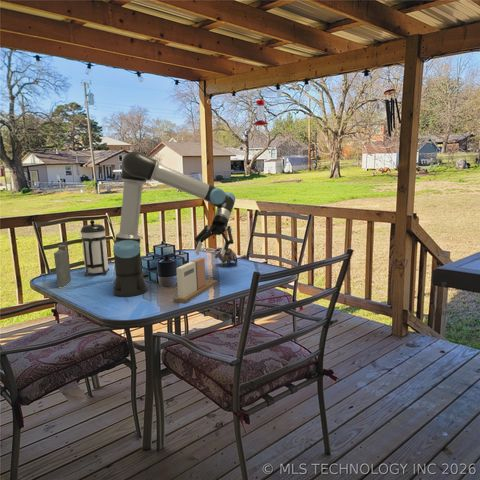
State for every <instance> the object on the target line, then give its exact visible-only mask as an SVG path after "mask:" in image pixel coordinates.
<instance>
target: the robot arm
mask: <svg viewBox="0 0 480 480" xmlns="http://www.w3.org/2000/svg"><path fill="white" fill-rule="evenodd" d="M121 166H122V168H121V176H120V179H121V181H122V182H123V188H122V189H123V191H122V202H121V213H120V222H119V223H120V224H119V232H118V233H117V234H116V235H115V241H114V244H113V249H112V253H113V258H114V259H113V260H114V270H115V280H114V284H113V289H112V292H113V293H112V294H113V295H114V296H117V297H126V298H127V297H134V296H139V295H142V294H145V293H146V292H147V291H148V285H147V283H146V280H145V278H144V275H143V272H142V271H143V270H142V268H143V267H142V257H141V246H140V245H141V236H140V235H139V224H140V223H139V222H140V216H141V213H140V212H141V204H142V196H143V194H142V192H143V186H144V185H145V184H146V183H147V181H156V182H157V183H160V184H163V185H166V186H168V187H171V188H173V189H177V191H178V190H179V191H181V192H184V193H187V194H189V195H191V196H195V197H197V198H200V199H201V200H204V201H205V202H208V203H209V204H211V205H213V206H214V207H217V208H216V211H215V213H214V217H213V219H212V223H211V225H210V226H209V225H208V224H205V226H204V228H203V229H202V230H201V231H200V232H199V233H198V234H197V236H196V237H195V238H194V241H195V242H196V244H195V251H194V253H195V254H196V256H199V255H200V252H201V249H202V246H203V242H205V241H206V240H207V239H209V238H210V237H213V236H222V238H223V239H224V242H223V244H222V247H221V248H222V250H221V253H220V254H221V255H222V257H224V254H225V251H226V250H227V249H228V248H230V247H229V246H230V245H233V244H234V238H233V234H232V227H231V226H230V225H228V224H229V220H230V218H231V214H232V212H233V208H234V206H235V202H236V196H235V195H234V194H233V193H232V192H229V191H224V190H223V189H222V188H220V187H217V186H213V185H211V184H209V183H206V182H203V181H202V180H199V179H196V178H195V177H192V176H189V175H186V174H184V173H182V172H180V171H177V170H175V169H172V168H170V167H168V166H165V165H163V164H160V163H159V161H158V160H156V159H154V158H152V157H150V156H148V155H147V154H145V153H143V152H141V151H138V150H134V151H130V152H128V153H127V154H125V156H123V158H122V161H121ZM226 231H227V235H228V238H227V236H226V234H225V233H224V232H226ZM228 239H229V240H228Z"/></svg>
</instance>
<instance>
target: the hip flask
mask: <svg viewBox="0 0 480 480" xmlns="http://www.w3.org/2000/svg"><path fill="white" fill-rule="evenodd" d="M57 248H58V250H57V251H55V252H53V257H54V267H55V275H56V281H57V282H56V283H57V288H58V287H64V286H66V285H67V284H68V283H69V282H70V281H71V282H72V278H71V277H72V276H71V269H70V260H69V252H68V247H66V244H60V245H59V244H58V245H57ZM71 282H70V283H71ZM70 283H69V284H70ZM69 284H68V285H69ZM68 285H67V286H68ZM67 286H66V287H67ZM64 288H65V287H64Z"/></svg>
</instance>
